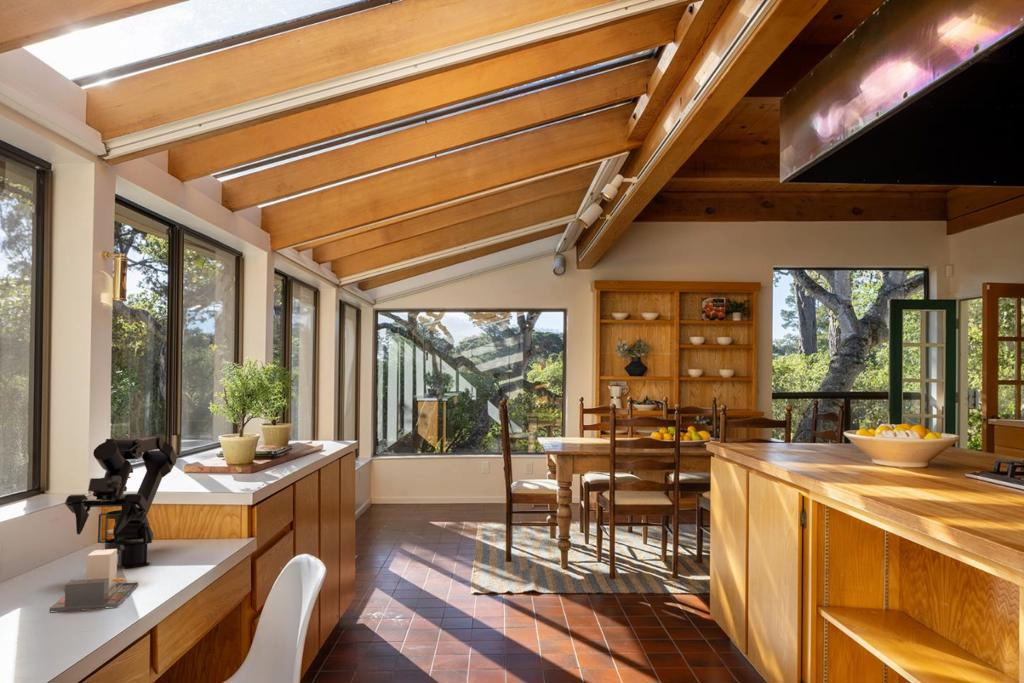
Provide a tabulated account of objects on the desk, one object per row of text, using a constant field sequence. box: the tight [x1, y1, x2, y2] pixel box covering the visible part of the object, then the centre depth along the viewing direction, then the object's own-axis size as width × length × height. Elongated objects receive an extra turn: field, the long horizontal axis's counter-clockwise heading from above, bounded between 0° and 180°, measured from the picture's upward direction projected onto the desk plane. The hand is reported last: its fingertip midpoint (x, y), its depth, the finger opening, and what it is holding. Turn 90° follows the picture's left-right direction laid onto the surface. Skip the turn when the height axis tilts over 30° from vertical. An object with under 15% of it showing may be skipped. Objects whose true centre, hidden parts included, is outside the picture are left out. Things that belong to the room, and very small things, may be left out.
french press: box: [97, 476, 132, 555], centre depth 221 cm, size 12×9×23 cm
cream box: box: [85, 548, 125, 592], centre depth 174 cm, size 6×10×9 cm, turn 104°
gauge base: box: [49, 578, 139, 613], centre depth 171 cm, size 18×14×6 cm
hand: (96, 533), depth 181 cm, fingers open, 9 cm apart
